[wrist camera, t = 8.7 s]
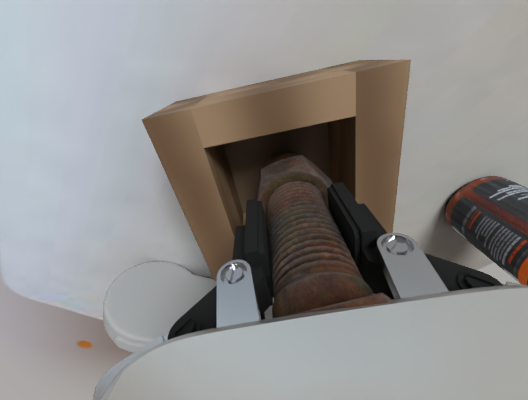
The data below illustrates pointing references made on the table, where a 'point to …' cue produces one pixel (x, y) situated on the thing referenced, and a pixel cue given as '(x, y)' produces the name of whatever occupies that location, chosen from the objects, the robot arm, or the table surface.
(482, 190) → the supplement bottle
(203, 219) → the socket block
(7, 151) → the table surface
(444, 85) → the table surface
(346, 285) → the bolt
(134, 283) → the game controller
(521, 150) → the table surface
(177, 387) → the robot arm
